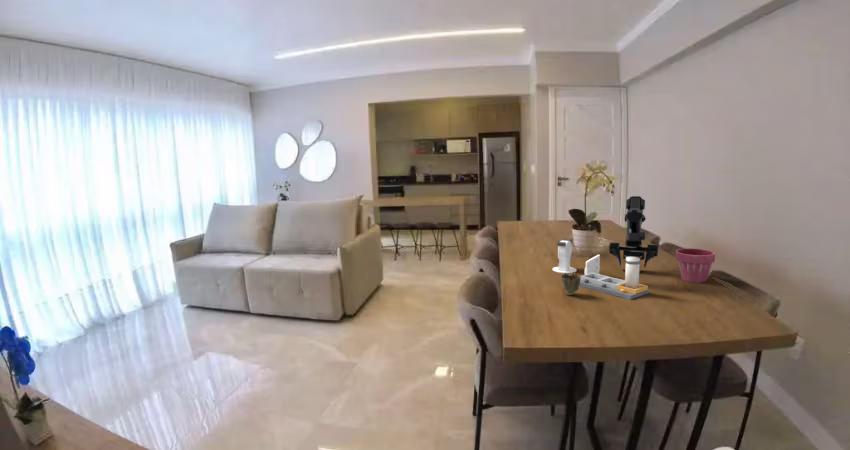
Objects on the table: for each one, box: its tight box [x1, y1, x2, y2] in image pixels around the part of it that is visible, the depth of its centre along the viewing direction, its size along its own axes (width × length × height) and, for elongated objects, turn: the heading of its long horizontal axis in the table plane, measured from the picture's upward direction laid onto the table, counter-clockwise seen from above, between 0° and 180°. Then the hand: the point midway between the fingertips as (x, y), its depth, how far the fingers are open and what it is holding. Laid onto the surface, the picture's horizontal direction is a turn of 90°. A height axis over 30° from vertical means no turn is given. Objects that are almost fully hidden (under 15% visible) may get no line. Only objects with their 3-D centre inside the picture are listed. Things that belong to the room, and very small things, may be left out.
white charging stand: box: [552, 238, 577, 274], centre depth 203 cm, size 12×11×15 cm
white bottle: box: [624, 257, 641, 289], centre depth 166 cm, size 5×5×13 cm
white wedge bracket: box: [583, 254, 601, 275], centre depth 193 cm, size 4×10×9 cm, turn 84°
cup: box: [560, 273, 582, 296], centre depth 167 cm, size 8×7×8 cm
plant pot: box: [675, 247, 716, 284], centre depth 180 cm, size 14×14×13 cm
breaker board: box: [579, 273, 650, 301], centre depth 173 cm, size 13×26×3 cm, turn 32°
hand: (632, 266), depth 172 cm, fingers open, 9 cm apart
